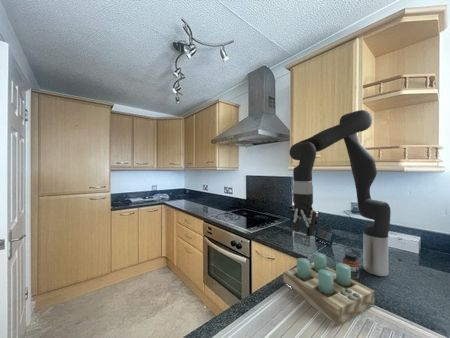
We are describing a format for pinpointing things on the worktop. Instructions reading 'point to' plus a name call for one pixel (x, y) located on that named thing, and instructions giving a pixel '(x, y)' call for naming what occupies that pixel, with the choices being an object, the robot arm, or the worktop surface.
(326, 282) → the button
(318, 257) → the button
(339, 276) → the button
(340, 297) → the console
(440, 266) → the worktop surface
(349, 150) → the robot arm
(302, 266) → the button
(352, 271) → the supplement bottle
